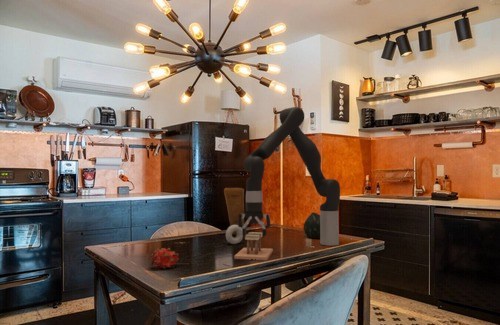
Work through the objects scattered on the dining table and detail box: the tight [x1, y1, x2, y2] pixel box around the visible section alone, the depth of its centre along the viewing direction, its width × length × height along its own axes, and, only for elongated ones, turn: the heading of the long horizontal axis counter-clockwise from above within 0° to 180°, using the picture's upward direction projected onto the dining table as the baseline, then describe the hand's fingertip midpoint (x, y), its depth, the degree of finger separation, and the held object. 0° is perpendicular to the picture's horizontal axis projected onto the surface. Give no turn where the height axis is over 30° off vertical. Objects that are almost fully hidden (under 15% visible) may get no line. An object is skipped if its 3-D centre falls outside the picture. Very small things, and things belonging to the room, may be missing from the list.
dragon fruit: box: [149, 247, 181, 270], centre depth 145 cm, size 8×8×12 cm
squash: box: [302, 212, 320, 240], centre depth 210 cm, size 14×15×15 cm
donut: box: [225, 225, 244, 245], centre depth 192 cm, size 10×4×10 cm, turn 119°
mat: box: [233, 247, 274, 261], centre depth 166 cm, size 14×18×1 cm
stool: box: [244, 231, 263, 254], centre depth 166 cm, size 10×6×8 cm, turn 168°
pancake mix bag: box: [223, 187, 245, 236], centre depth 223 cm, size 7×19×28 cm, turn 34°
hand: (254, 237), depth 167 cm, fingers open, 8 cm apart
